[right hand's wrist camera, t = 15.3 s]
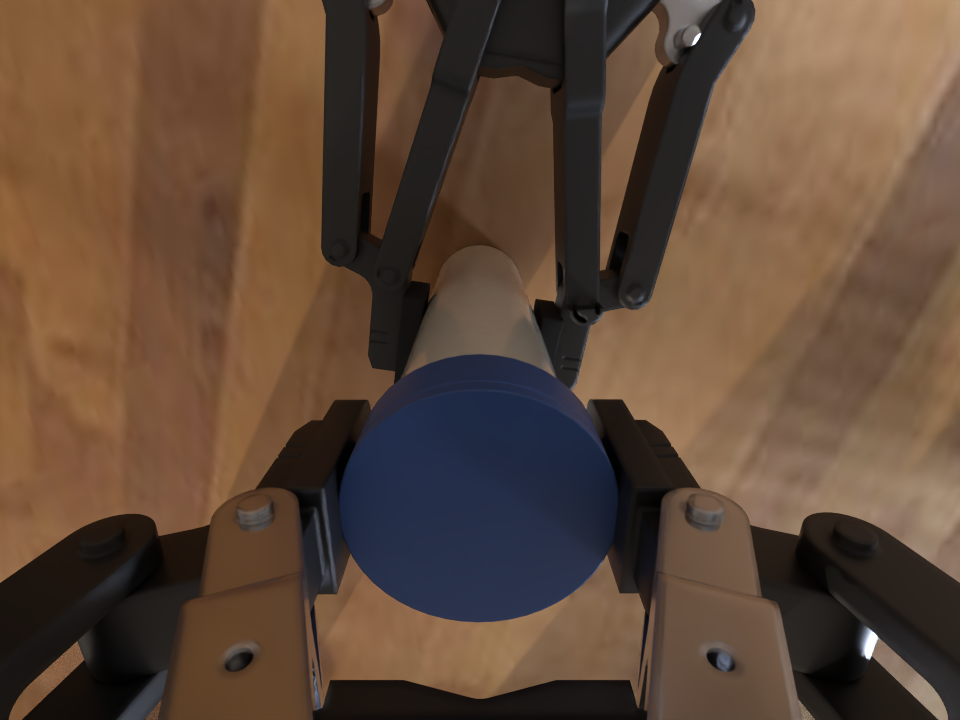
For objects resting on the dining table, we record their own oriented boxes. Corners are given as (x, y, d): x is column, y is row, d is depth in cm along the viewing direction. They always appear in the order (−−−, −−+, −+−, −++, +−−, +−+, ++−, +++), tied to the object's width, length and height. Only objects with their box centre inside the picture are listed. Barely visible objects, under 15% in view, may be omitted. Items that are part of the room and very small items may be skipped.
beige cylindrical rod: (428, 316, 27) (345, 564, 10) (448, 234, 25) (390, 371, 9) (507, 337, 27) (551, 608, 11) (532, 258, 26) (628, 431, 9)
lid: (367, 559, 12) (349, 622, 10) (348, 351, 10) (324, 387, 8) (588, 560, 12) (606, 623, 10) (611, 353, 10) (636, 390, 8)
